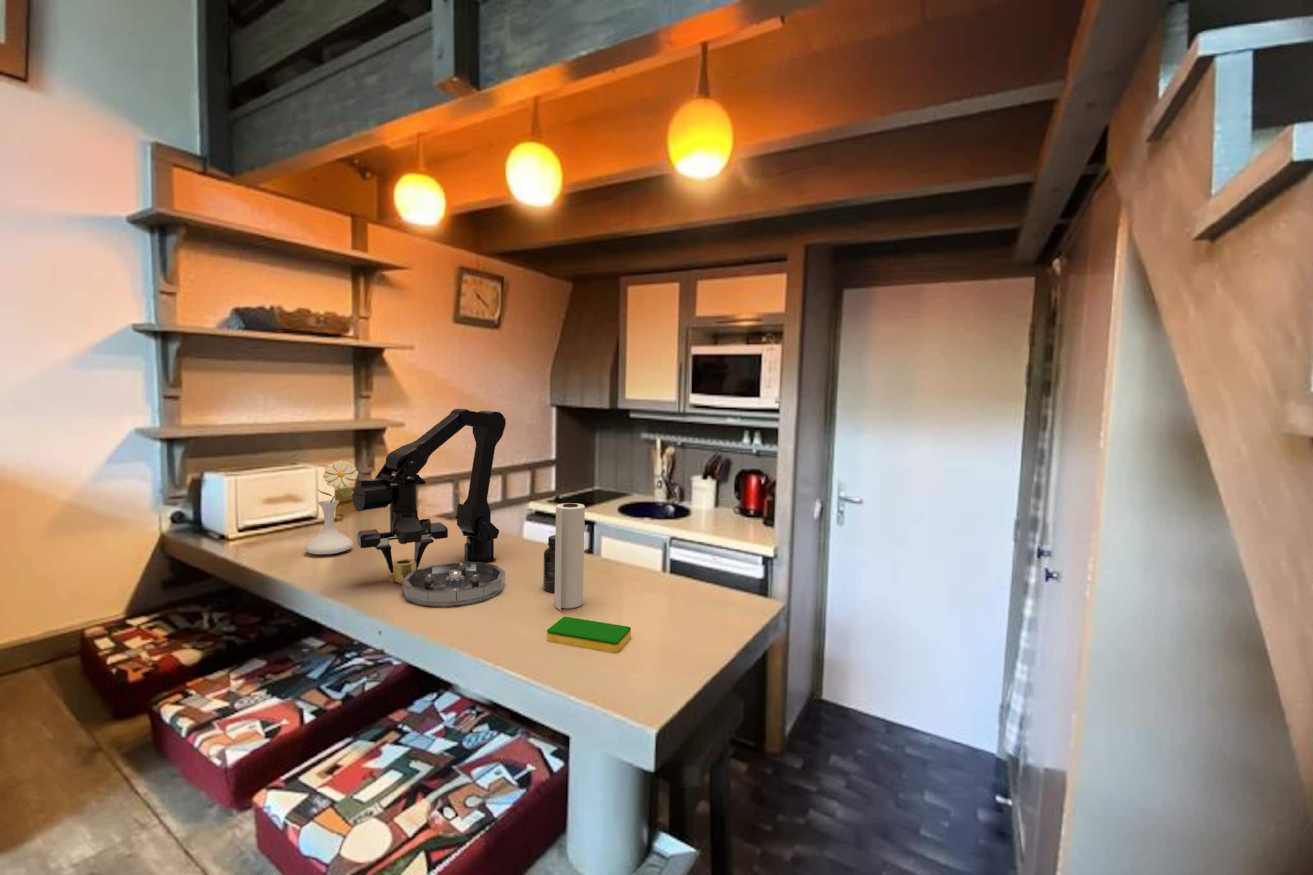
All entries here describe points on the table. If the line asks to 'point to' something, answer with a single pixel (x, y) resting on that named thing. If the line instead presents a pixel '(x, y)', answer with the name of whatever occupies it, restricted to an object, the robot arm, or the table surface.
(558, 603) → the paper towel roll
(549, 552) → the supplement bottle
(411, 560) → the planet gear
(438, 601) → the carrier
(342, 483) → the flower in vase
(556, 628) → the dish sponge
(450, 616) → the table surface
